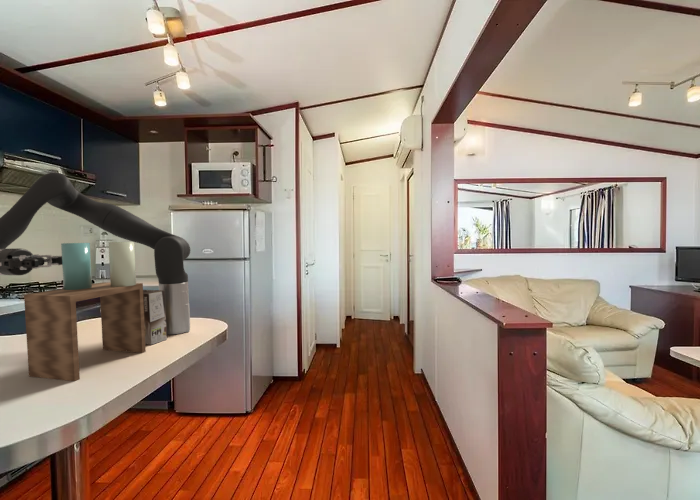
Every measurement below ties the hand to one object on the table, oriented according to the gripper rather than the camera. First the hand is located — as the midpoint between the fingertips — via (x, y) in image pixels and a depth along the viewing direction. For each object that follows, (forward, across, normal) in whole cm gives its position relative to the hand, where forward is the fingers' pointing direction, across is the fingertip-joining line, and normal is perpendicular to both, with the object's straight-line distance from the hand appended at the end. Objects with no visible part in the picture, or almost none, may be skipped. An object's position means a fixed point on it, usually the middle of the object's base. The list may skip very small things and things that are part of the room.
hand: (54, 261), depth 96 cm
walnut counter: (+11, 0, +27) cm, 29 cm away
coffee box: (+11, +19, +27) cm, 35 cm away
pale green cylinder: (+16, +6, +7) cm, 18 cm away
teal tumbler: (+8, 0, +7) cm, 10 cm away
